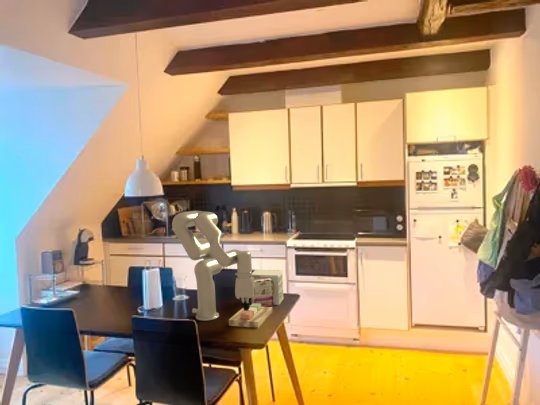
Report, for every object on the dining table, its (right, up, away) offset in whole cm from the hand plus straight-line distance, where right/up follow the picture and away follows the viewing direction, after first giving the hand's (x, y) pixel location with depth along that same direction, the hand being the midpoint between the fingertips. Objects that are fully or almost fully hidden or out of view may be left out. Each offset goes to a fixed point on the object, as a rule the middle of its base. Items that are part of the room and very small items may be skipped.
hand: (246, 309), depth 230 cm
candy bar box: (+8, -5, +26) cm, 28 cm away
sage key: (+4, -4, +14) cm, 15 cm away
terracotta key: (0, -5, 0) cm, 5 cm away
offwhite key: (+2, -4, +7) cm, 8 cm away
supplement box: (+11, -4, +37) cm, 39 cm away
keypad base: (+2, -7, +7) cm, 10 cm away
